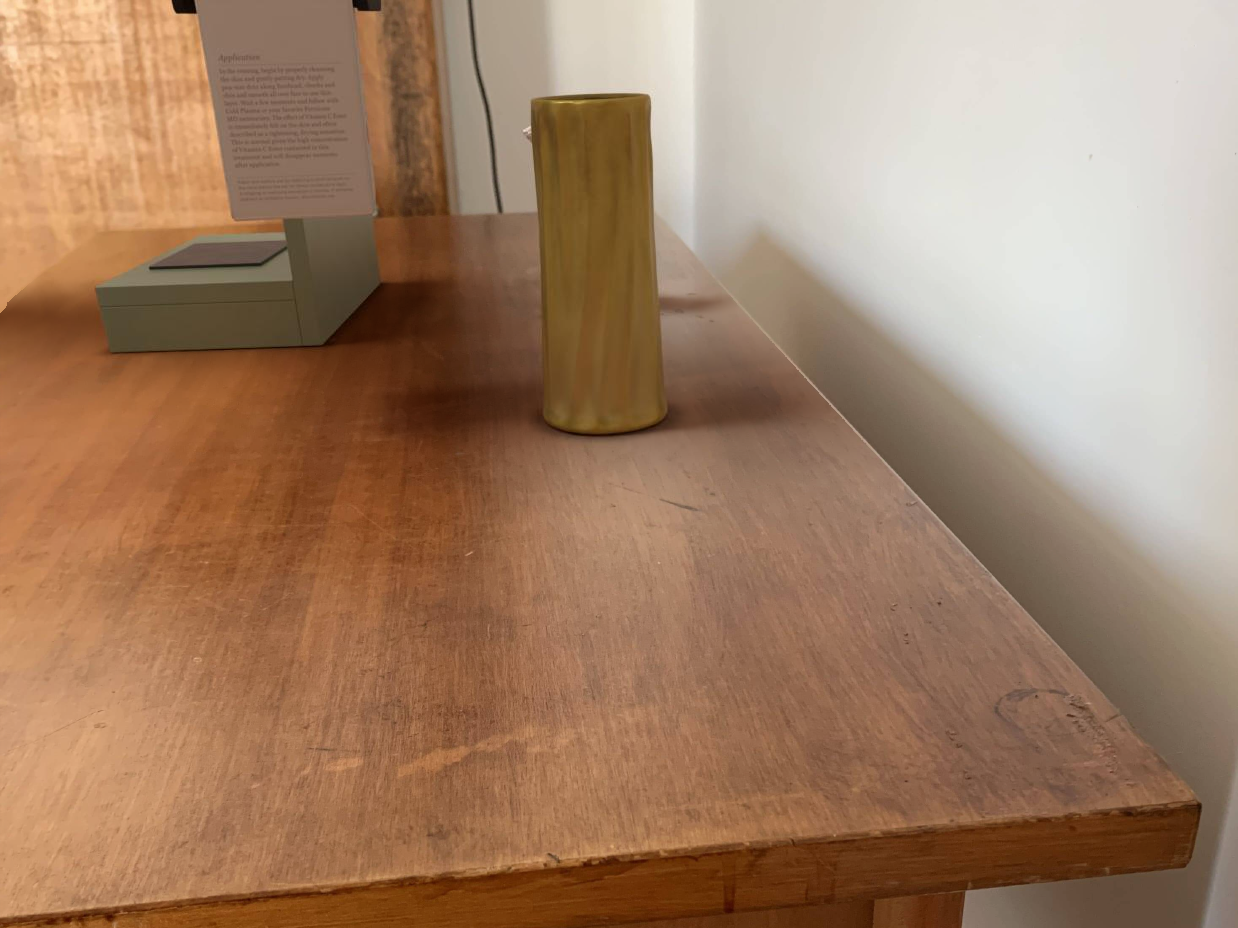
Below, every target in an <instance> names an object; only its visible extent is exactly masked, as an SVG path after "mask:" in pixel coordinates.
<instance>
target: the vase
mask: <svg viewBox="0 0 1238 928" xmlns="http://www.w3.org/2000/svg"><path fill="white" fill-rule="evenodd" d="M651 123H652V99H651V96H650V95H649V93H641V92H640V93H639V92H636V93H635V92H611V93H610V92H609V93H607V92H606V93H604V92H603V93H579V94H577V93H575V94H561V95H549V96H547V95H546V96H540V97H539V96H538V97H533V98H531V99H530V126H531V135H532V143H531V147H532V161H533V172H534V184H535V197H536V208H537V210H536V211H537V219H538V243H539V245H538V247H539V260H540V264H539V265H540V293H541V294H540V295H541V296H540V297H541V353H542V354H541V355H542V357H541V359H542V384H543V385H542V387H543V405H542V406H543V407H542V417H543V419H544V421H545V422H546V424H548V425H549V426H550V427H553V428H555V429H557V430H560V431H564V432H567V433H575V434H582V435H611V434H622V433H627V432H628V433H629V432H635V431H638V430H643V429H646V428H649V427H652V426H655V425H656V424H659V423H660V422H661V421H663V420H664V419H665V417H666V416H667V414H668V412H669V411H668V410H669V407H668V406H669V405H668V401H667V395H666V390H665V377H664V361H663V360H664V358H663V346H662V345H663V343H662V326H661V312H660V311H661V310H660V297H659V283H658V271H657V249H656V248H657V247H656V234H655V212H654V211H655V208H654V207H655V205H654V204H655V203H654V201H655V200H654V156H653V144H652V130H651V128H652V126H651Z"/></svg>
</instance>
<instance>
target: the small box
mask: <svg viewBox="0 0 1238 928" xmlns="http://www.w3.org/2000/svg"><path fill="white" fill-rule="evenodd" d="M195 5H196V11H197V14H196V17H197V21H198V27H199V32H200V40H201V47H202V51H203V58H204V63H205V69H206V70H205V71H206V74H207V75H206V76H207V80H208V86H209V92H210V98H211V103H212V109H213V114H214V116H213V117H214V122H215V127H216V134H217V139H218V140H217V141H218V145H219V152H220V158H221V163H222V170H223V175H224V182H225V187H226V194H227V200H228V206H229V211H230V217H231V219H232V220H233V221H234V222H253V221H255V222H257V221H271V220H272V221H274V220H283V219H298V218H329V217H349V216H364V215H372V216H373V215H374V214H375V213H376V201H377V200H376V199H377V195H376V193H377V191H376V181H375V180H376V179H375V172H374V163H373V156H372V155H373V154H372V147H371V137H370V129H369V120H368V112H367V104H366V94H365V87H364V79H363V70H362V68H363V67H362V61H361V60H362V59H361V52H360V43H359V35H358V26H357V18H356V8H353V3H352V0H195Z"/></svg>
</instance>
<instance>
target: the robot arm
mask: <svg viewBox="0 0 1238 928" xmlns="http://www.w3.org/2000/svg"><path fill="white" fill-rule="evenodd" d="M352 3H353V8H355V9H356V10H357V12H382V0H352ZM171 5H172V9H173V11H174V13H175V14H177V15H197V11H196V5H195V0H171Z"/></svg>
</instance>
